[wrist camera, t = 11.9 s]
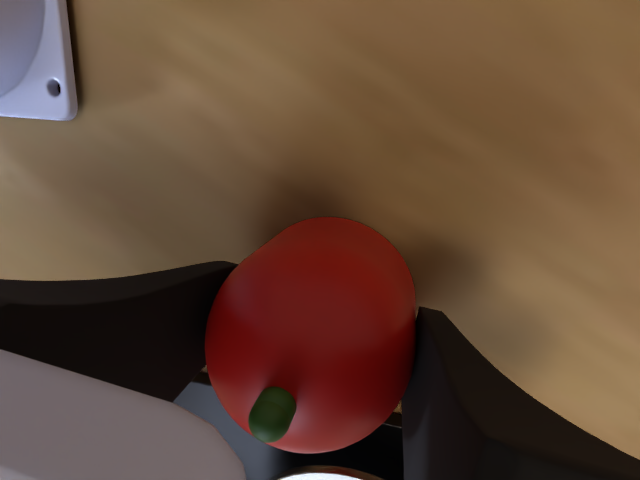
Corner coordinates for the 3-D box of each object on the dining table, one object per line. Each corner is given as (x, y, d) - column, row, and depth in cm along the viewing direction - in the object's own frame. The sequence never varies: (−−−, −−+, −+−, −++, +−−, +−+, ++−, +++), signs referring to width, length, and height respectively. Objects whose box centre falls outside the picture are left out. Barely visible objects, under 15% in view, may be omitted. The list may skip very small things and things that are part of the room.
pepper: (256, 207, 12) (118, 272, 7) (426, 226, 11) (439, 326, 6) (254, 352, 14) (140, 508, 8) (403, 381, 13) (396, 586, 7)
